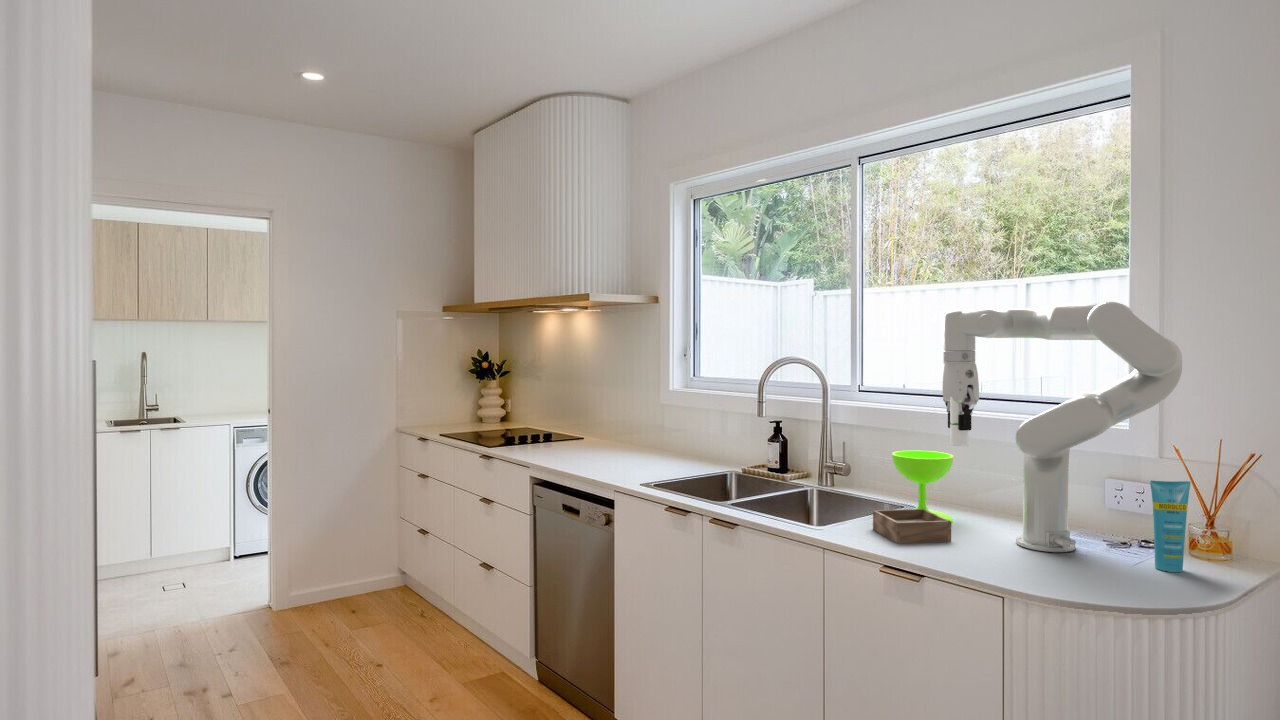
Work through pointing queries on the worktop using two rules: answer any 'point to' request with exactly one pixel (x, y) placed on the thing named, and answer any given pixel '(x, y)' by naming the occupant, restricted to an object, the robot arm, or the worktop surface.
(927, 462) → the wineglass
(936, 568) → the worktop surface
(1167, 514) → the tube
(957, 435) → the tube
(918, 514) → the open wooden box
